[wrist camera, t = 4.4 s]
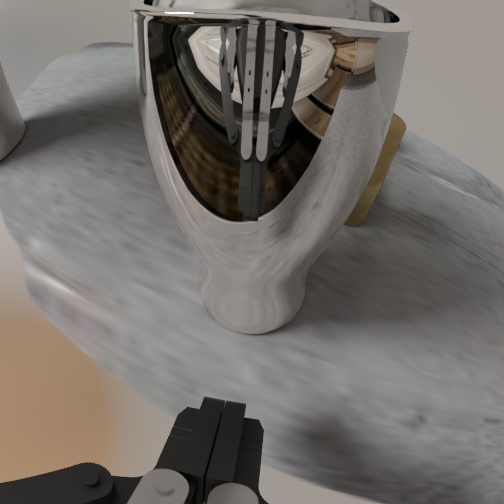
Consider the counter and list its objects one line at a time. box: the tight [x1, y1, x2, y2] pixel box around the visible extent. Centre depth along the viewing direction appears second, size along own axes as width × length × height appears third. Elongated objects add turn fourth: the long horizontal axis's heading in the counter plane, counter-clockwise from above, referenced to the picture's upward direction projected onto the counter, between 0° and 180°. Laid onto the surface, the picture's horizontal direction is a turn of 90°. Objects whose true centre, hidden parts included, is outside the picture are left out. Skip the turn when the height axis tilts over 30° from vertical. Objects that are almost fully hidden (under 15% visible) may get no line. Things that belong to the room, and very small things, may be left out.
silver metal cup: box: [129, 0, 414, 334], centre depth 11 cm, size 7×7×15 cm
